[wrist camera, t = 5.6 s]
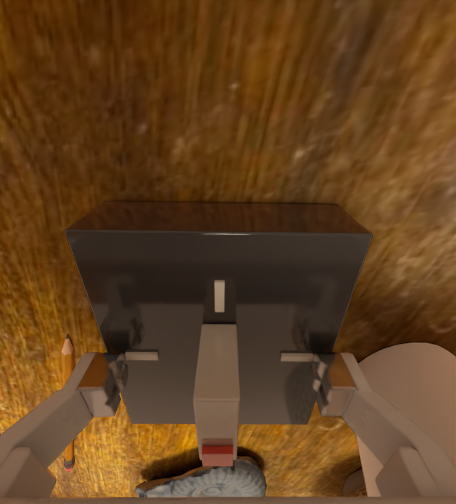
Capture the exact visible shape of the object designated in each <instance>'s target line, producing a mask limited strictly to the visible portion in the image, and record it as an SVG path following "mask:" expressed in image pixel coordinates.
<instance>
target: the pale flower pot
mask: <svg viewBox="0 0 456 504" xmlns="http://www.w3.org/2000/svg"><path fill="white" fill-rule="evenodd" d="M358 365H359V367H360V368H361V370H362V372H363V374H364V376H365V378H366V380H367V382H368V383H369V385H370V387H371V389H372V390H373V391H377V392H378V393H379V394H381V395H382V396H383V397H384V398H385V399H387V400H388V401H389V402H390V403H391V404H393V405H394V406H395V407H396V408H397V409H399V410H400V411H401V412H402V413H403V414H405V415H406V416H407V417H408V418H409V419H411V420H412V421H413V422H414V423H415V424H417V425H418V426H419V427H420V428H422V429H423V430H424V431H425V432H426V433H428V434H429V435H430V436H431V437H432V438H434V439H435V440H436V441H437V442H438V443H440V444H441V445H442V446H443V448H444V449H445V451H446V453H447V454H448V456H449V457H450V459H451V460H452V462H453V463H454V465H455V466H456V357H455V356H454V355H453V354H451V353H450V352H449V351H447V350H445V349H444V348H442V347H440V346H438V345H434V344H429V343H406V344H399V345H395V346H391V347H388V348H385V349H382V350H380V351H378V352H376V353H373V354H371V355H369V356H368V357H366V358H365V359H364V360H362V361H361V362H359V363H358ZM356 437H357V442H358V448H359V453H360V458H361V464H362V469H363V474H364V479H365V485H366V490H367V495H368V497H381V495H380V492H379V490H378V487H377V485H376V482H375V479H376V477H377V475H378V474H379V472H380V471H381V470H382V468H383V467H384V466H383V465H382V464H381V463H380V462H379V460H378V459H377V458H376V457H375V456H374V455H373V453H372V452H371V451H370V450H369V449H368V448H367V446H366V445H365V444H364V443H363V442H362V440H361V439H360V438H359V437H358V436H357V435H356Z"/></svg>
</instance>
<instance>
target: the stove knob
mask: <svg viewBox="0 0 456 504" xmlns="http://www.w3.org/2000/svg"><path fill="white" fill-rule="evenodd" d="M193 405H194V414H195V423H196V432H197V441H198V450H199V458H200V460H202V465H203V466H233V460H236V458H237V444H238V427H239V410H240V385H239V363H238V341H237V325H236V324H202V327H201V336H200V344H199V353H198V361H197V369H196V378H195V386H194V395H193Z"/></svg>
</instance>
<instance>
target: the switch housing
mask: <svg viewBox="0 0 456 504" xmlns="http://www.w3.org/2000/svg"><path fill="white" fill-rule="evenodd" d="M65 235H66V238H67V241H68V244H69V247H70V250H71V252H72V255H73V258H74V261H75V264H76V267H77V269H78V272H79V275H80V278H81V281H82V284H83V287H84V289H85V292H86V295H87V298H88V301H89V304H90V307H91V309H92V312H93V315H94V318H95V321H96V324H97V327H98V329H99V332H100V335H101V338H102V341H103V344H104V347H105V349H106V352H107V353H123V354H124V357H125V359H124V363H125V364H127V366H128V373H129V374H128V380H127V383H126V386H125V389H123V390H122V391H121V395H122V398H123V401H124V404H125V406H126V409H127V412H128V415H129V418H130V421H131V423H132V424H196V423H195V414H194V405H193V395H194V386H195V378H196V369H197V361H198V353H199V344H200V336H201V327H202V324H236V325H237V341H238V363H239V385H240V410H239V424H308V421H309V418H310V415H311V413H312V410H313V407H314V404H315V401H316V397H317V394H318V393H317V392H316V391H315V390H314V389H313V388H312V385H311V381H310V366H311V364H313V363H314V361H313V355H314V354H315V353H329V352H333V349H334V346H335V344H336V341H337V338H338V335H339V332H340V329H341V326H342V323H343V321H344V318H345V315H346V312H347V309H348V306H349V303H350V300H351V298H352V295H353V292H354V289H355V286H356V283H357V280H358V277H359V275H360V272H361V269H362V266H363V263H364V260H365V257H366V254H367V251H368V249H369V246H370V243H371V240H372V237H373V234H372V233H371V232H370V231H369V230H367V229H366V228H365V227H364V226H363V225H361V224H360V223H359V222H358V221H357V220H355V219H354V218H353V217H352V216H351V215H349V214H348V213H347V212H346V211H345V210H343V209H342V208H341V207H340V206H339V205H337V204H271V203H205V202H138V201H104V202H102V203H101V204H100V205H98V206H97V207H95V208H94V209H93V210H91V211H90V212H88V213H87V214H86V215H84V216H83V217H82V218H80V219H79V220H77V221H76V222H75V223H73V224H72V225H70V226H69V227H68V228H66V229H65Z"/></svg>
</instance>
